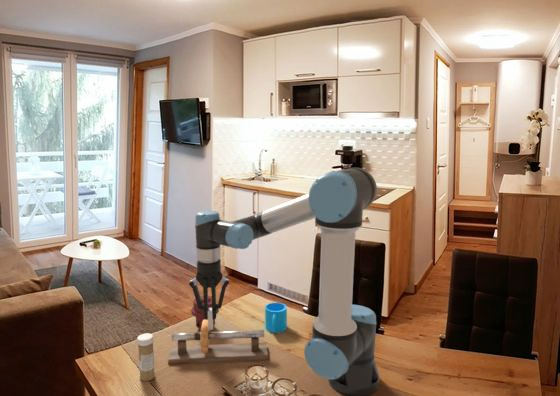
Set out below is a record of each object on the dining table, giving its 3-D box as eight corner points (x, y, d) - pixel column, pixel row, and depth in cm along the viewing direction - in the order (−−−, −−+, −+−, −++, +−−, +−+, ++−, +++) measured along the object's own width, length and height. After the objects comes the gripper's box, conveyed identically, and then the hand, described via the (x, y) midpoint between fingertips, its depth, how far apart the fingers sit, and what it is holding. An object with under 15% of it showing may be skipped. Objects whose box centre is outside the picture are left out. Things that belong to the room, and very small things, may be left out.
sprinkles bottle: (141, 373, 134) (139, 333, 131) (156, 372, 134) (154, 332, 132) (138, 382, 129) (135, 340, 127) (153, 381, 130) (151, 339, 127)
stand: (267, 359, 142) (267, 342, 141) (168, 363, 139) (167, 347, 138) (266, 346, 150) (266, 331, 149) (172, 350, 147) (171, 334, 146)
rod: (263, 335, 146) (263, 328, 145) (264, 338, 143) (264, 331, 143) (173, 338, 143) (172, 331, 143) (171, 342, 141) (171, 335, 140)
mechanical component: (196, 321, 168) (221, 323, 167) (188, 334, 158) (215, 335, 157) (195, 291, 166) (221, 292, 165) (187, 302, 156) (214, 303, 155)
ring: (208, 353, 140) (207, 330, 138) (200, 353, 139) (199, 330, 138) (210, 340, 147) (209, 319, 146) (202, 341, 147) (202, 319, 146)
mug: (266, 321, 168) (266, 302, 166) (287, 322, 167) (287, 303, 166) (262, 337, 156) (262, 316, 155) (284, 338, 155) (284, 317, 154)
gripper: (229, 255, 142) (231, 322, 147) (189, 256, 141) (192, 323, 146) (228, 262, 135) (230, 332, 139) (186, 263, 134) (189, 334, 138)
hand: (210, 328), depth 142 cm, fingers closed
